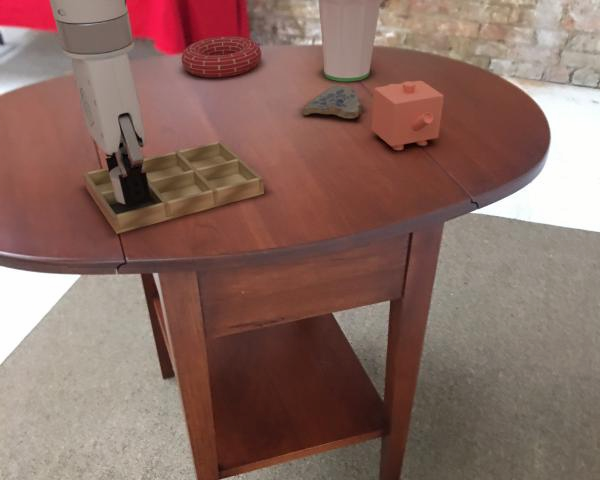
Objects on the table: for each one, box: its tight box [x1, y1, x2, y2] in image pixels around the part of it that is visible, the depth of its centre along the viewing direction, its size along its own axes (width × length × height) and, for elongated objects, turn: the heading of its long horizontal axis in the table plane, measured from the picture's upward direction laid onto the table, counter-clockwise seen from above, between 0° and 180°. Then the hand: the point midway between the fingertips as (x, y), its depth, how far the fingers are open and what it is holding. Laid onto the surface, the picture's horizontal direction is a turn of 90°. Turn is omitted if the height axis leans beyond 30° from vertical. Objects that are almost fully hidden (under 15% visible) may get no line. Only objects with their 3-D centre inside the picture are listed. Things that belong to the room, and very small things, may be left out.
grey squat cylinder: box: [109, 166, 150, 204], centre depth 79 cm, size 4×4×3 cm
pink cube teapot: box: [371, 80, 445, 151], centre depth 93 cm, size 8×12×8 cm, turn 21°
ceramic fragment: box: [302, 84, 363, 119], centre depth 104 cm, size 11×3×10 cm
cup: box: [318, 0, 381, 83], centre depth 112 cm, size 12×12×15 cm
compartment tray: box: [82, 140, 265, 235], centre depth 85 cm, size 20×14×2 cm
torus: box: [181, 36, 262, 78], centre depth 120 cm, size 16×14×4 cm
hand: (131, 193), depth 80 cm, fingers closed on grey squat cylinder, 4 cm apart
